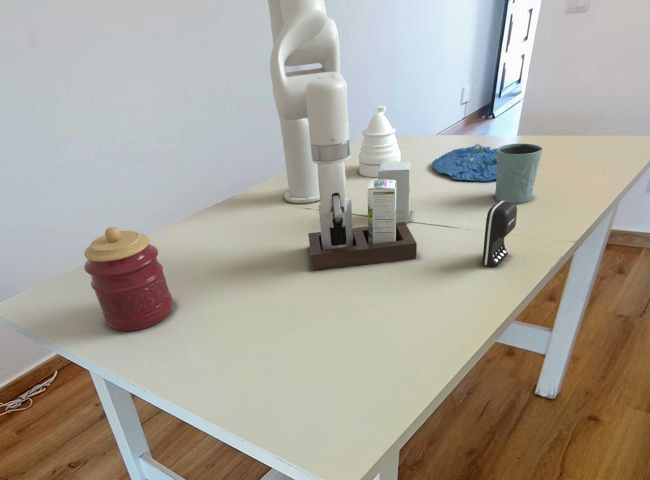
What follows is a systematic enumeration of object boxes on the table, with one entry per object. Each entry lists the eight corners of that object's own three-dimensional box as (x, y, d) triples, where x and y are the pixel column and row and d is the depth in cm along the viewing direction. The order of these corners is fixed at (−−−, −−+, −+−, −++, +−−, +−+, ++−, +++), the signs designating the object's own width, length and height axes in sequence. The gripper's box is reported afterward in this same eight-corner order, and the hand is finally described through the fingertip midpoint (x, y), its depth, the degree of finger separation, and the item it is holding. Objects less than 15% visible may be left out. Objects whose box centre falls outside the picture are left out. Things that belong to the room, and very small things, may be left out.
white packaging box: (409, 222, 120) (410, 169, 112) (378, 223, 121) (377, 170, 114) (410, 211, 125) (411, 160, 118) (381, 212, 127) (380, 161, 120)
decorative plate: (552, 180, 137) (556, 161, 134) (442, 189, 139) (444, 170, 135) (518, 148, 160) (521, 131, 157) (424, 156, 162) (425, 140, 159)
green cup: (489, 203, 124) (495, 154, 117) (494, 190, 132) (499, 142, 125) (533, 205, 121) (541, 154, 114) (535, 191, 128) (543, 142, 121)
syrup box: (369, 245, 111) (367, 180, 103) (396, 244, 110) (396, 178, 102) (368, 256, 107) (366, 189, 99) (396, 255, 106) (396, 187, 98)
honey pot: (372, 163, 163) (370, 103, 153) (407, 166, 156) (408, 103, 146) (351, 174, 155) (348, 112, 145) (388, 178, 148) (387, 113, 138)
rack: (309, 247, 114) (308, 233, 112) (404, 236, 113) (404, 221, 111) (312, 270, 104) (311, 255, 102) (416, 258, 104) (416, 243, 102)
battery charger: (499, 269, 96) (507, 212, 90) (480, 265, 98) (486, 209, 92) (512, 255, 101) (521, 200, 94) (494, 252, 103) (501, 197, 96)
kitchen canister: (138, 339, 89) (104, 247, 79) (92, 323, 95) (55, 237, 85) (188, 304, 97) (164, 218, 87) (143, 292, 104) (115, 210, 93)
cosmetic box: (339, 247, 112) (335, 194, 105) (355, 251, 109) (352, 197, 102) (321, 258, 108) (316, 204, 101) (338, 263, 106) (333, 207, 99)
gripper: (309, 142, 103) (317, 224, 113) (313, 165, 89) (322, 256, 99) (344, 138, 103) (349, 220, 113) (355, 160, 89) (359, 252, 99)
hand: (337, 236), depth 106 cm, fingers closed on cosmetic box, 7 cm apart
